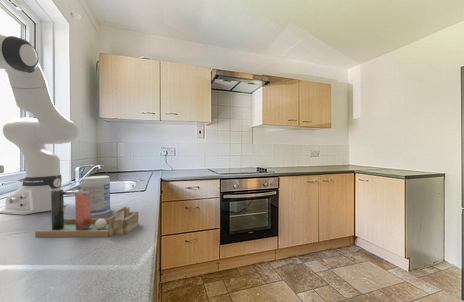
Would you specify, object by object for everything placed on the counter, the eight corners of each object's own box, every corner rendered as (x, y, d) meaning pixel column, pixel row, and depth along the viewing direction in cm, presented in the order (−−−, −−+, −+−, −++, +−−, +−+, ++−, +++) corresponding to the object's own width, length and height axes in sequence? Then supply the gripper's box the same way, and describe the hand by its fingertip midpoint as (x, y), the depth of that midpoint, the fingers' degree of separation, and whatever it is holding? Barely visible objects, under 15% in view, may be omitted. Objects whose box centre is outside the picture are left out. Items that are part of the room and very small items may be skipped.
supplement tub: (111, 214, 83) (110, 177, 83) (81, 219, 78) (80, 179, 78) (109, 209, 91) (108, 174, 91) (82, 212, 86) (81, 176, 86)
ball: (92, 231, 65) (92, 220, 65) (99, 227, 68) (98, 217, 68) (102, 231, 65) (102, 220, 65) (109, 227, 68) (108, 217, 68)
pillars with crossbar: (48, 229, 65) (48, 191, 65) (57, 226, 68) (56, 189, 68) (86, 229, 65) (85, 191, 65) (93, 226, 68) (92, 189, 68)
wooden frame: (108, 238, 61) (108, 214, 61) (127, 225, 72) (127, 204, 72) (123, 238, 61) (123, 214, 61) (139, 225, 72) (139, 204, 72)
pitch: (35, 239, 61) (35, 231, 61) (65, 225, 72) (65, 218, 72) (108, 239, 61) (107, 231, 61) (127, 225, 72) (127, 218, 72)
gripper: (-101, 156, 41) (4, 157, 51) (-75, 156, 55) (4, 157, 65) (-103, 189, 41) (3, 183, 51) (-77, 181, 55) (3, 178, 65)
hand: (3, 169), depth 58 cm, fingers open, 8 cm apart
